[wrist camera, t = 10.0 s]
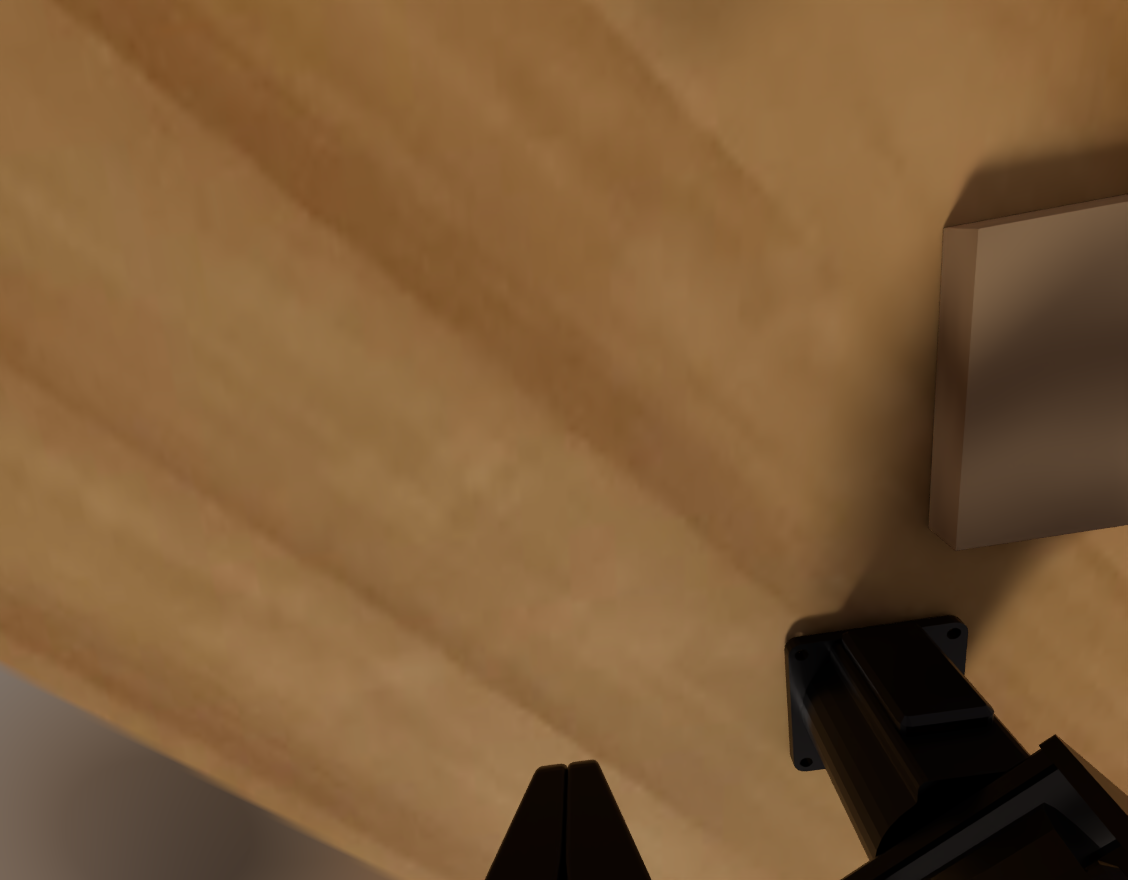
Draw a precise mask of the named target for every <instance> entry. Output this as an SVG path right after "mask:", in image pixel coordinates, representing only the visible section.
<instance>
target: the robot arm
mask: <svg viewBox="0 0 1128 880" xmlns="http://www.w3.org/2000/svg"><path fill="white" fill-rule="evenodd" d="M950 629H952V630H951V631H949V630H950ZM967 638H968V628H967V627H966V625H965V624H964V623H963V622H962V621H961V620H960V619H959V618H958V617H956V616H953V615H947V616H941V617H934V618H927V619H920V620H913V621H906V622H899V623H892V624H885V625H878V626H871V627H864V628H857V629H850V630H843V631H836V632H829V633H822V634H815V635H808V636H801V637H796V638H793V639H791V640H790V641H788V642H787V644H786V645H785V649H784V651H785V669H786V687H787V705H788V723H789V742H790V756H791V759H792V761H793V764H794V766H795V768H796V769H798V770H800V771H812V770H820V769H826V771H827V773H828V775H829V777H830V779H831V781H832V783H833V785H834V787H835V789H836V791H837V794H838V796H839V798H840V800H841V802H842V804H843V806H844V808H845V810H846V812H847V815H848V817H849V819H850V821H851V823H852V825H853V827H854V829H855V831H856V833H857V835H858V838H859V840H860V842H861V844H862V846H863V848H864V850H865V852H866V854H867V856H868V858H869V861H868V862H867V863H865V864H864V865H862V866H861V867H859V868H858V869H856V870H855V871H853V872H852V873H850V874H848V875H847V876H845V877H844V878H842V879H841V880H1128V796H1127V795H1126V794H1125V793H1124V792H1122V791H1121V790H1120V789H1119V788H1118V787H1117V786H1115V785H1114V784H1113V783H1112V782H1111V781H1110V780H1108V779H1107V778H1106V777H1105V776H1104V775H1103V774H1101V773H1100V772H1099V771H1098V770H1097V769H1096V768H1094V767H1093V766H1092V765H1091V764H1090V763H1089V762H1087V761H1086V760H1085V759H1084V758H1083V757H1082V756H1080V755H1079V754H1078V753H1077V752H1076V751H1075V750H1073V749H1072V748H1071V747H1070V746H1069V745H1067V744H1066V743H1065V742H1064V741H1063V740H1062V739H1060V738H1059V737H1058V736H1057V735H1056V734H1055V735H1053V736H1052V737H1050V738H1049V739H1047V740H1046V741H1044V742H1043V743H1041V744H1040V745H1039V746H1040V748H1041V749H1040V750H1038V751H1037V752H1035V753H1034V754H1032V755H1030V754H1029V753H1028V752H1027V751H1026V750H1025V749H1024V747H1023V746H1022V745H1021V744H1020V743H1019V742H1018V741H1017V739H1016V738H1015V737H1014V736H1013V735H1012V734H1011V733H1010V731H1009V730H1008V729H1007V728H1006V727H1005V726H1004V725H1003V723H1002V722H1001V721H1000V720H999V719H998V718H997V717H996V715H995V714H994V710H993V708H992V707H991V705H990V704H989V703H988V702H987V701H986V700H985V699H984V698H983V696H982V695H981V694H980V693H979V692H978V691H977V690H976V688H975V687H974V686H973V685H972V684H971V683H970V682H969V680H968V679H967V678H966V677H965V676H964V674H965V662H966V650H967ZM799 650H803V651H802V652H800V653H796V652H797V651H799ZM485 880H651V878H650V875H649V873H648V871H647V869H646V867H645V864H644V862H643V860H642V858H641V856H640V853H639V851H638V849H637V847H636V845H635V842H634V840H633V838H632V836H631V834H630V831H629V829H628V827H627V825H626V823H625V820H624V818H623V816H622V814H621V812H620V809H619V807H618V805H617V803H616V801H615V798H614V796H613V794H612V792H611V790H610V787H609V785H608V783H607V781H606V779H605V776H604V774H603V772H602V770H601V768H600V766H599V764H598V762H597V761H596V760H585V761H578V762H572V763H570V764H569V766H568V767H567V766H566V765H565V764H555V765H548V766H541V767H539V768H538V769H537V770H536V771H535V773H534V775H533V777H532V779H531V781H530V784H529V786H528V788H527V790H526V792H525V794H524V797H523V799H522V801H521V803H520V805H519V807H518V809H517V812H516V814H515V816H514V818H513V820H512V822H511V824H510V827H509V829H508V831H507V833H506V835H505V837H504V839H503V842H502V844H501V846H500V848H499V850H498V852H497V854H496V857H495V859H494V861H493V863H492V865H491V867H490V869H489V872H488V874H487V876H486V878H485Z"/></svg>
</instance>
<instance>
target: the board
mask: <svg viewBox="0 0 1128 880" xmlns="http://www.w3.org/2000/svg"><path fill="white" fill-rule="evenodd" d="M1124 525H1128V194H1126V195H1120V196H1115V197H1109V198H1104V199H1098V200H1093V201H1088V202H1082V203H1077V204H1071V205H1066V206H1061V207H1055V208H1050V209H1044V210H1039V211H1033V212H1028V213H1023V214H1017V215H1012V216H1006V217H1001V218H996V219H990V220H985V221H979V222H974V223H969V224H963V225H958V226H952V227H947V228H944V230H943V250H942V269H941V289H940V309H939V328H938V348H937V368H936V387H935V407H934V427H933V446H932V466H931V486H930V506H929V525H928V528H929V529H930V530H932V531H933V532H934V533H935V534H936V535H937V536H939V537H940V538H941V539H942V540H943V541H945V542H946V543H947V544H948V545H949V546H951V547H952V548H953V549H954V550H955V551H958V550H964V549H971V548H978V547H984V546H991V545H997V544H1004V543H1011V542H1017V541H1024V540H1031V539H1037V538H1044V537H1051V536H1057V535H1064V534H1071V533H1077V532H1084V531H1090V530H1097V529H1104V528H1110V527H1117V526H1124Z"/></svg>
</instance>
